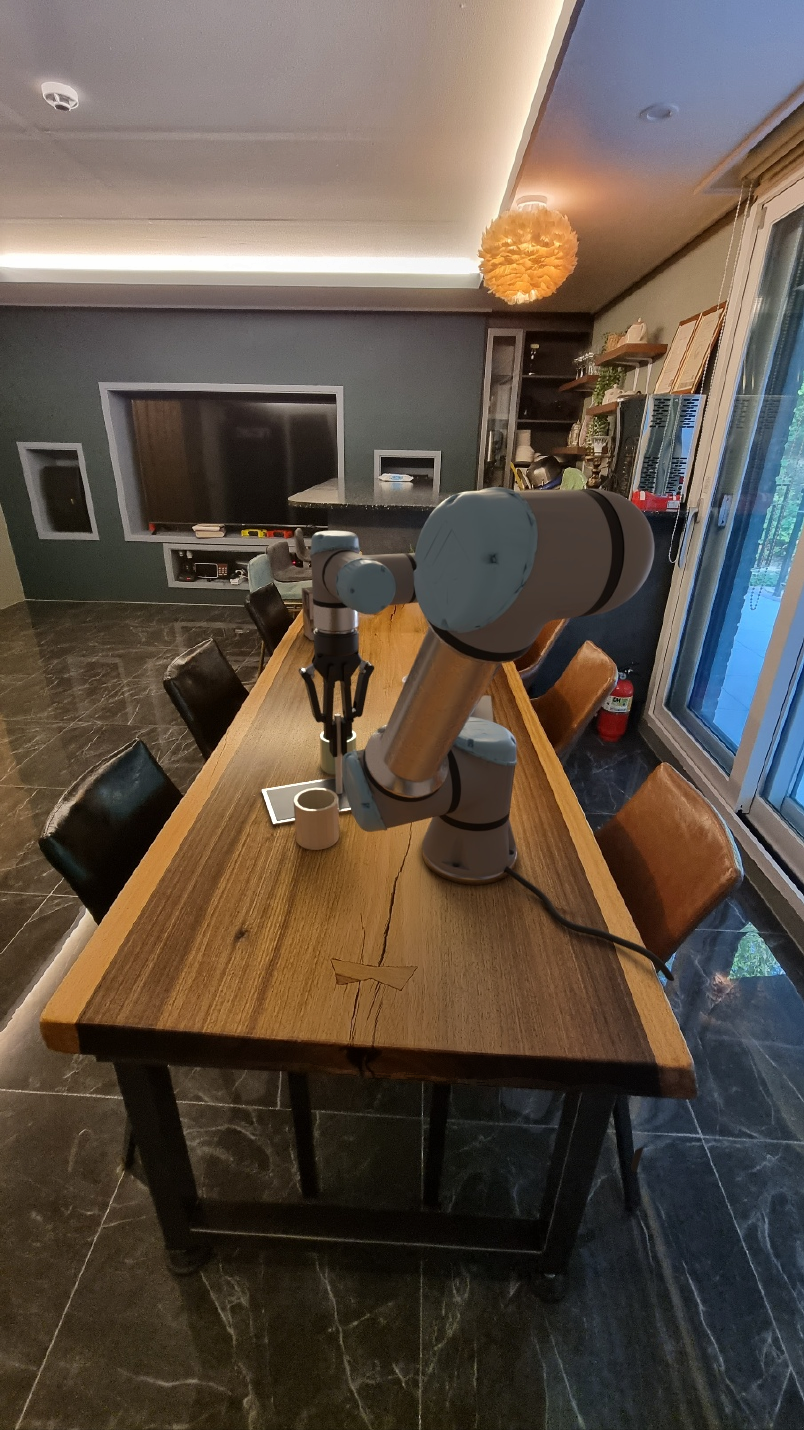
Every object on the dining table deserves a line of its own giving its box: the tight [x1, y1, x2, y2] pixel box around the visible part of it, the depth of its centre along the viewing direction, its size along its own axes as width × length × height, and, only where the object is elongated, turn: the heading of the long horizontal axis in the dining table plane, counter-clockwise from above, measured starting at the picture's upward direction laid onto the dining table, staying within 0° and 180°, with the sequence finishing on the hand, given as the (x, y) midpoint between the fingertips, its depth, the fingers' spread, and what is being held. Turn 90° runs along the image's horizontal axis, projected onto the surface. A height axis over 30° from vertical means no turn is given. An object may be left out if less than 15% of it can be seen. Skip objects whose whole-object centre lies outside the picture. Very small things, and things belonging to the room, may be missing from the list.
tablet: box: [261, 777, 352, 827], centre depth 113 cm, size 12×17×1 cm
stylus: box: [333, 713, 342, 794], centre depth 112 cm, size 1×1×16 cm
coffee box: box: [301, 586, 316, 641], centre depth 207 cm, size 9×6×16 cm
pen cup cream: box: [294, 788, 340, 851], centre depth 102 cm, size 7×7×8 cm
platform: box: [470, 694, 494, 722], centre depth 155 cm, size 12×18×7 cm, turn 175°
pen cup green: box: [319, 730, 357, 776], centre depth 124 cm, size 7×7×8 cm
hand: (338, 752), depth 112 cm, fingers closed on stylus
